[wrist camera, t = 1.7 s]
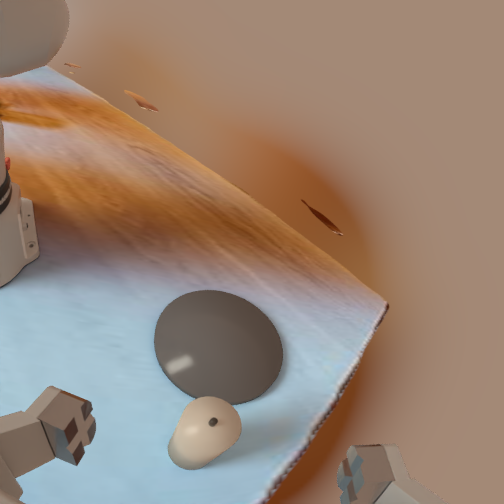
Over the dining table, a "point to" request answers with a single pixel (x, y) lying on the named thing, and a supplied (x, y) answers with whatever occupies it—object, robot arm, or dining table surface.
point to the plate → (218, 346)
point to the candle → (204, 432)
